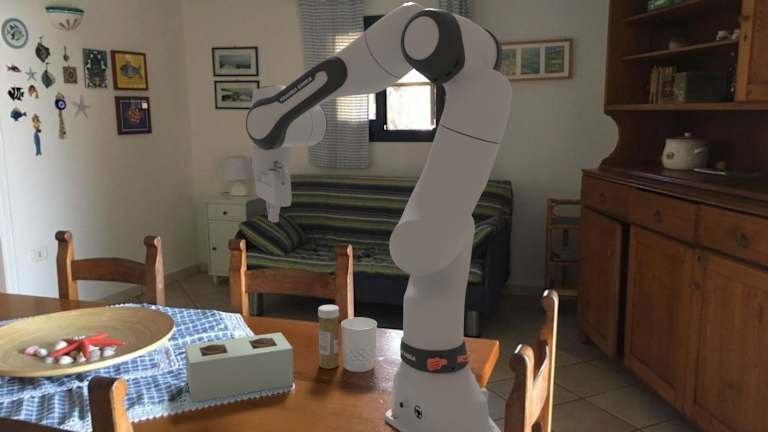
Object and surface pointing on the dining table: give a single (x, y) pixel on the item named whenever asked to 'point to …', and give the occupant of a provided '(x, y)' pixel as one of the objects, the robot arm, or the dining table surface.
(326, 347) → the sprinkles bottle
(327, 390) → the dining table surface
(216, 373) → the block
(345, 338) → the white cup
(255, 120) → the robot arm
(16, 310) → the dining table surface
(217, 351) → the peg
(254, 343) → the peg
